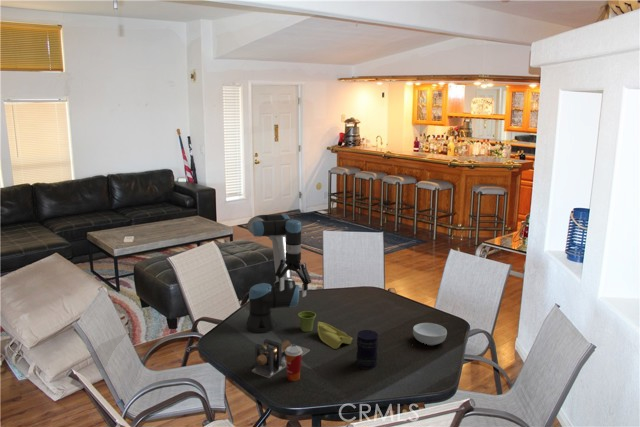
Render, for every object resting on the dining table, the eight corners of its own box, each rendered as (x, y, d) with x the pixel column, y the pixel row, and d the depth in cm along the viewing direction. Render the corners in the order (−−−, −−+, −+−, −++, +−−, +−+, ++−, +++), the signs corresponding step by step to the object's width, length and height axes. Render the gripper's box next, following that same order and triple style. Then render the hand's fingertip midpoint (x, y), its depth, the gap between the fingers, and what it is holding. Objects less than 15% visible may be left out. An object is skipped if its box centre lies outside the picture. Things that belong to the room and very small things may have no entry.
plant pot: (318, 327, 297) (318, 312, 295) (312, 334, 289) (312, 319, 287) (301, 324, 300) (302, 309, 298) (295, 331, 292) (295, 316, 290)
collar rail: (293, 345, 276) (293, 320, 273) (309, 350, 271) (310, 325, 268) (251, 371, 250) (251, 344, 247) (268, 378, 245) (268, 350, 242)
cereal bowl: (449, 338, 287) (450, 326, 286) (441, 352, 272) (442, 339, 271) (417, 332, 294) (418, 319, 293) (408, 345, 279) (409, 332, 278)
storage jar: (371, 371, 253) (372, 341, 250) (352, 365, 258) (353, 335, 255) (380, 362, 261) (382, 333, 258) (362, 356, 266) (363, 328, 263)
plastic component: (354, 339, 279) (342, 336, 272) (348, 352, 279) (336, 350, 272) (328, 323, 294) (316, 320, 287) (323, 336, 293) (310, 333, 286)
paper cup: (284, 373, 249) (284, 345, 246) (301, 373, 250) (302, 344, 247) (285, 383, 242) (285, 353, 238) (302, 382, 242) (302, 353, 239)
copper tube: (283, 347, 264) (283, 338, 263) (290, 350, 262) (290, 341, 261) (256, 364, 248) (256, 354, 247) (264, 367, 245) (264, 357, 244)
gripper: (268, 249, 272) (268, 289, 277) (310, 258, 258) (309, 301, 263) (277, 245, 278) (277, 285, 283) (318, 254, 265) (318, 296, 269)
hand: (292, 293), depth 273 cm, fingers open, 13 cm apart
